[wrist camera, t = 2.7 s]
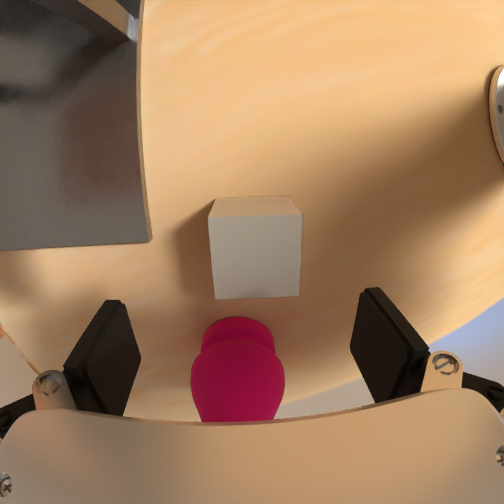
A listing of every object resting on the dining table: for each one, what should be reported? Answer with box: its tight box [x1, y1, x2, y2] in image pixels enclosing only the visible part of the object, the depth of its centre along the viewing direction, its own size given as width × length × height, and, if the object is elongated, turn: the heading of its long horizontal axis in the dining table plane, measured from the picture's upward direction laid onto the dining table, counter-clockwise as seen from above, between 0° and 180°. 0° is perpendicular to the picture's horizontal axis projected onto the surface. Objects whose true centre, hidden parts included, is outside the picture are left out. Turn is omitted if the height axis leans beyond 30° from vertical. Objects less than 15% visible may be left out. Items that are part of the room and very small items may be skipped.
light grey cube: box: [208, 196, 303, 299], centre depth 18 cm, size 5×5×5 cm
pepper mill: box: [190, 317, 285, 422], centre depth 15 cm, size 7×7×20 cm
